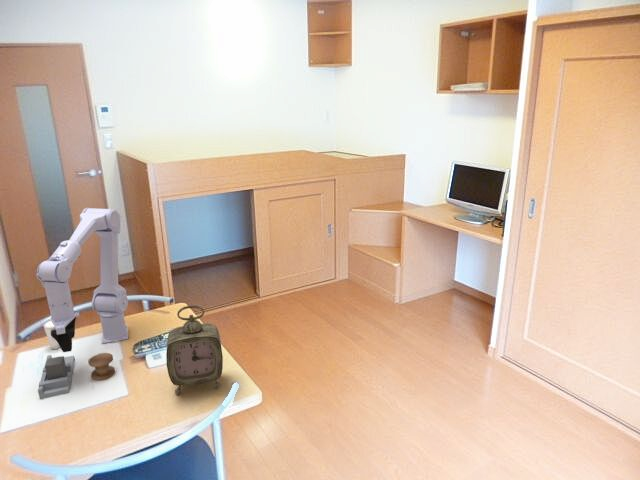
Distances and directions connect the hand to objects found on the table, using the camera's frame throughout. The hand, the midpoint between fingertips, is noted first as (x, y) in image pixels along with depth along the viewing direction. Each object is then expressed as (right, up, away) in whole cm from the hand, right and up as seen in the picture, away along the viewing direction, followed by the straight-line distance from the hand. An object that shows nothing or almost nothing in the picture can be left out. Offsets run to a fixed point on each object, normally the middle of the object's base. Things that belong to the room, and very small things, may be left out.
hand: (68, 344), depth 132 cm
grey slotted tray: (-4, -10, +1) cm, 11 cm away
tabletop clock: (+38, -11, -2) cm, 39 cm away
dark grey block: (-2, -10, -1) cm, 10 cm away
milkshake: (-14, -5, +17) cm, 23 cm away
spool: (+8, -9, +3) cm, 13 cm away
